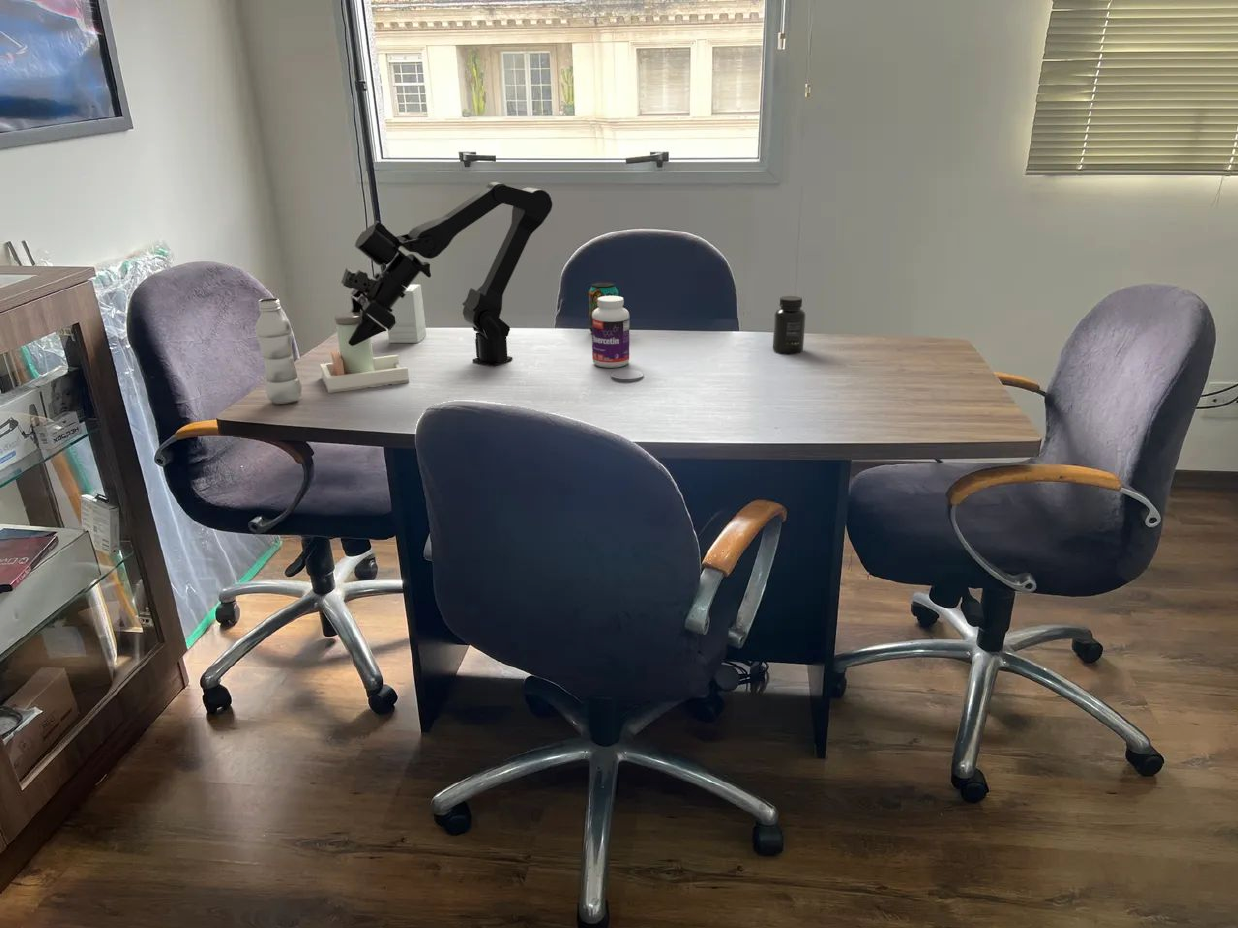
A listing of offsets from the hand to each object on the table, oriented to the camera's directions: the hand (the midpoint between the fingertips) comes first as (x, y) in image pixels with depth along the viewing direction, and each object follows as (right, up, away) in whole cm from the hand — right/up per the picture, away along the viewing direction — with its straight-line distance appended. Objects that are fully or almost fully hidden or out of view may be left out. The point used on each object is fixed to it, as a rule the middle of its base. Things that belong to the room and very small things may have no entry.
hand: (346, 339), depth 180 cm
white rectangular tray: (+2, -8, +4) cm, 9 cm away
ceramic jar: (+1, -7, +4) cm, 9 cm away
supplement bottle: (+94, 0, +21) cm, 96 cm away
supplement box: (+4, +5, +34) cm, 35 cm away
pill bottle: (+54, -4, +13) cm, 55 cm away
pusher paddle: (-2, -8, +2) cm, 8 cm away
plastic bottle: (-9, -14, -8) cm, 18 cm away
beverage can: (+52, +7, +37) cm, 64 cm away
